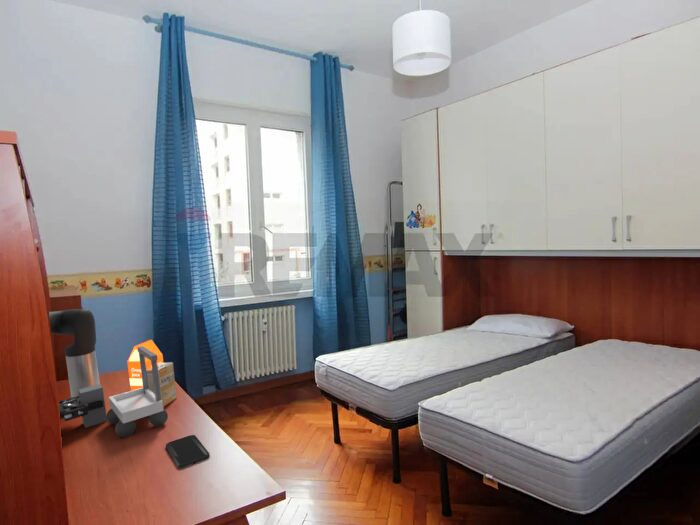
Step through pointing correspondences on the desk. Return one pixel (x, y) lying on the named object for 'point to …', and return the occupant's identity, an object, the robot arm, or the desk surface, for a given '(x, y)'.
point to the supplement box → (164, 382)
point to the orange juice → (135, 366)
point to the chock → (90, 396)
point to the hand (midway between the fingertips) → (100, 400)
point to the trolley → (138, 401)
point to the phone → (187, 451)
